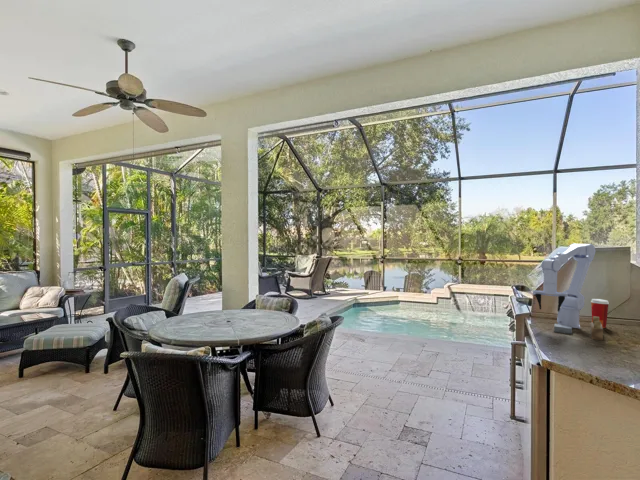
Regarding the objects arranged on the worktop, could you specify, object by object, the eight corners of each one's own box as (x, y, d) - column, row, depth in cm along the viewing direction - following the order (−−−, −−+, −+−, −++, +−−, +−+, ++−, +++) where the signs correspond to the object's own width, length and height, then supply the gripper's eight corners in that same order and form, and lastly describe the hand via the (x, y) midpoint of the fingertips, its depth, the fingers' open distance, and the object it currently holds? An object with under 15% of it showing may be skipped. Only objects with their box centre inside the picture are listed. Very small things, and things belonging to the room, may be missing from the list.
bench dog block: (591, 338, 160) (592, 321, 160) (590, 332, 172) (590, 315, 172) (602, 340, 158) (603, 323, 158) (600, 333, 170) (601, 317, 169)
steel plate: (554, 332, 172) (554, 326, 172) (554, 329, 177) (554, 323, 177) (571, 334, 168) (571, 328, 168) (571, 331, 173) (571, 325, 173)
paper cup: (601, 325, 186) (602, 298, 186) (612, 329, 178) (613, 301, 178) (586, 324, 187) (586, 298, 186) (595, 328, 179) (596, 301, 179)
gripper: (533, 282, 177) (532, 309, 177) (568, 285, 169) (567, 313, 169) (533, 281, 183) (532, 307, 183) (567, 283, 175) (566, 310, 175)
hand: (549, 310), depth 177 cm, fingers open, 7 cm apart
